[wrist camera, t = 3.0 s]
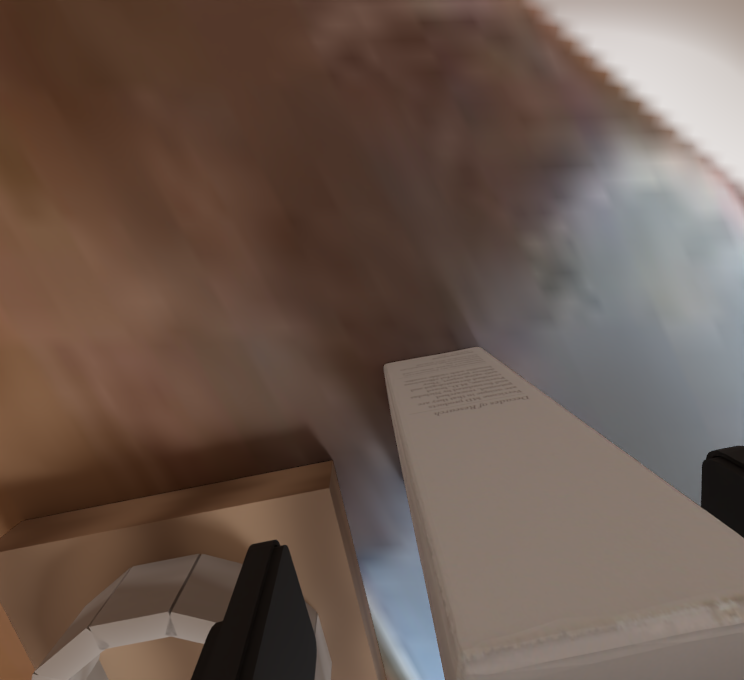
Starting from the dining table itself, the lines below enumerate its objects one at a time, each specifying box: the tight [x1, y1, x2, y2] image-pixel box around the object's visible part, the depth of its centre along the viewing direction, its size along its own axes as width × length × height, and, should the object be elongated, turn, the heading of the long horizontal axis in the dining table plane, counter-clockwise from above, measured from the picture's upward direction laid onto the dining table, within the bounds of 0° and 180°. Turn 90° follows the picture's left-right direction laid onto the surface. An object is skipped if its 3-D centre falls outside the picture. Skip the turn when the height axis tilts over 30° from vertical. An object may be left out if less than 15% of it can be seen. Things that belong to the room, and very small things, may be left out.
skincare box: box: [384, 347, 744, 680], centre depth 10 cm, size 6×4×12 cm
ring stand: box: [0, 460, 387, 680], centre depth 16 cm, size 14×14×4 cm
